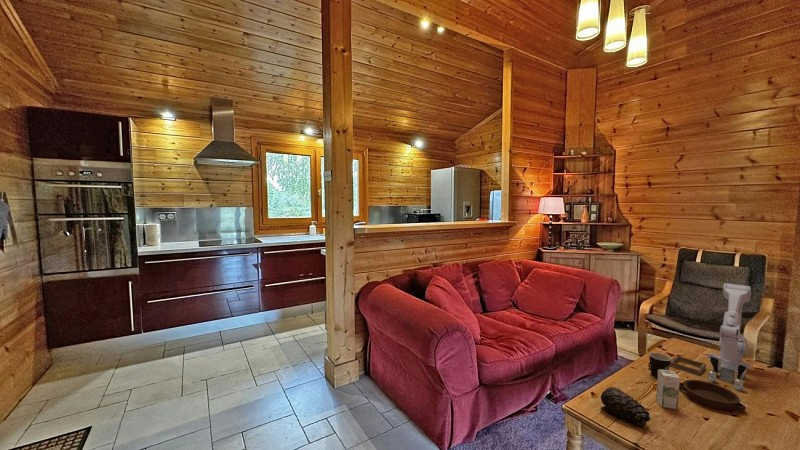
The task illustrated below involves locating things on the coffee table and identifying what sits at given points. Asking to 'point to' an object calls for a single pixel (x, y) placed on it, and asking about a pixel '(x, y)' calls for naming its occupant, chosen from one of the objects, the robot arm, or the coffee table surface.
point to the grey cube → (727, 374)
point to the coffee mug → (658, 363)
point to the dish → (711, 395)
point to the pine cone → (624, 407)
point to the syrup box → (667, 389)
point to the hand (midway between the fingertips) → (727, 376)
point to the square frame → (685, 368)
